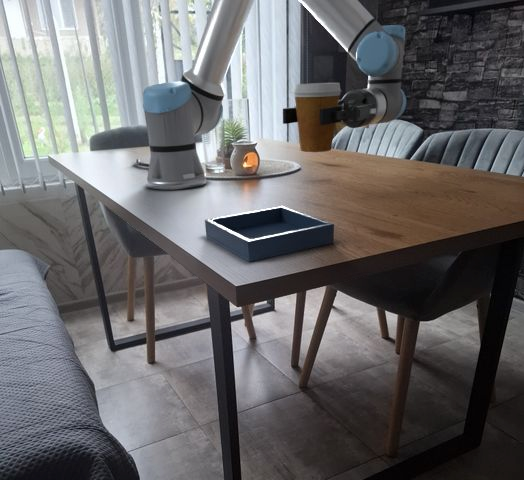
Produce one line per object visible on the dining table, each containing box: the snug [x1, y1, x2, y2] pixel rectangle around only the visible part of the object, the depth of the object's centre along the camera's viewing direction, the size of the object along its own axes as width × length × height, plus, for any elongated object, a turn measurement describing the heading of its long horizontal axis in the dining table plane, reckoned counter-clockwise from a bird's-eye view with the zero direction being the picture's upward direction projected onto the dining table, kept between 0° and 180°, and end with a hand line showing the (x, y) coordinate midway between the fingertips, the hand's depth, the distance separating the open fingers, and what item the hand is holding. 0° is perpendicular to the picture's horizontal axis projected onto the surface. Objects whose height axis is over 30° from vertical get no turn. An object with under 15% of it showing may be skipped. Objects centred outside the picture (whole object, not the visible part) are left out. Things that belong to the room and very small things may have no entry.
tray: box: [204, 205, 335, 263], centre depth 80 cm, size 16×16×3 cm
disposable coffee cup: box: [292, 82, 343, 153], centre depth 96 cm, size 10×10×12 cm
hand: (302, 116), depth 93 cm, fingers closed on disposable coffee cup, 8 cm apart
